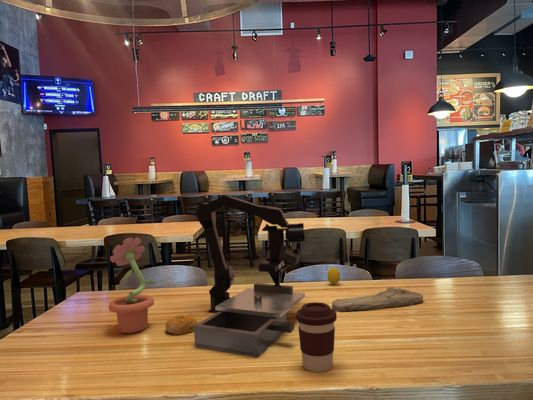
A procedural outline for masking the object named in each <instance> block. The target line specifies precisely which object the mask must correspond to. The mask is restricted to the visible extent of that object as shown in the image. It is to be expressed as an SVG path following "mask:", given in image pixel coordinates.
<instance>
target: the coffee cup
mask: <svg viewBox="0 0 533 400" xmlns="http://www.w3.org/2000/svg"><path fill="white" fill-rule="evenodd" d="M295 320H296V321H297V322H298V327H297V329H298V336H299V349H300V351H301V358H302V359H301V360H302V365H303V368H305V369H306V370H307V371H309V372H312V373H324V372H327V371H329V370H330V369H332V367H333V362H334V361H333V359H334V350H335V332H336V331H335V330H336V327H335V322H336V321H337V320H338V319H337V312H336V311H334V310H333V309H332V307H330V305H329V304H327V303H324V302H317V301H315V302H314V301H313V302H308V303H304V304H303V305H302V306H301V308H299V309H297V311H296V312H295Z"/></svg>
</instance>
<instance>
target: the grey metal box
mask: <svg viewBox="0 0 533 400" xmlns="http://www.w3.org/2000/svg"><path fill="white" fill-rule="evenodd" d="M197 323H198V324H196V325H195V326H194V331H193V338H194V340H193V341H194V347H195V348H200V349H205V350H212V351H218V352H223V353H228V354H229V353H230V354H236V355H240V356H241V355H242V356H248V357H253V358H259V357H260V356H261V355H263V353H264V352H266V350H268V349H269V348H270V347H271V346H272V345H273V344H274V343H275V342H276V341H277V340H278V339H279V338H280V337H281V336H282V335H283V334H284V333H288V334H291V333H292V332H293V331H294V330H295V323H294V322H287V312H286V313H285V314H284V315H283V316H282V317H281V318H276V317H267V316H259V315H251V314H243V313H234V312H226V311H218V312H217V313H216V312H214V313H213V314H212V315H210V316H208V317H207V318H205V319H203V320H201V321H200V322H197Z"/></svg>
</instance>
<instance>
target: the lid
mask: <svg viewBox="0 0 533 400" xmlns="http://www.w3.org/2000/svg"><path fill="white" fill-rule="evenodd" d="M305 297H306V293H304V292H295V291H294V287H293V285H283V284H280V285H275V284H270V283H261V282H260V283H259V282H256V283H254V284H253V288H252V287H251V288H250V287H248V288H246V289H244V290H242V291H241V292H238V293H237V294H235V295H233V296H232V297H230V298H229V299H228V300H226V301H224V302H222V303H221V304H219V305H217V306H215V310H218V311H226V312H234V313H243V314H251V315H259V316H267V317H276V318H281V317H282V316H283V315H284V314H285V313H286V314H287V312H289V311H290V310H292V309H293V308H294V307H295V306H296V305H297V304H299V302H301V301H302V300H303V299H304V298H305Z"/></svg>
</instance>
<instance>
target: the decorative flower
mask: <svg viewBox="0 0 533 400" xmlns="http://www.w3.org/2000/svg"><path fill="white" fill-rule="evenodd" d="M122 243H123V244H121V245H120V244H117V245H116V246H115V247H114V249H113V250H112V254H113V255H111V256H110V257H109V260H110V262H111V263H115V264H116V266H118V267H119V266H120V267H121V266H122V267H123V266H125V265H128V264H130V266H131V268H132V269H130V270H128V271H127V272H126V273H125V275H124V277H123V280H124V281H125V280H127V279H129V278H130V277H131V276H132V275H133V272H134V274H135V276H136V278H137V280H138V283H139V285H138V287H137V288H136V289H134V290H132V291H130V292H129V293H128V294H127V295H126V296H122V297H119V298H116V299H114V300H112V301H111V302H110V303H109V304H108V310H109V311H110V312H112V313H114V314H115V313H116V318H117V326H118V330H119V332H120V333H122V334H123V333H124V334H133V333H137V332H141V331H143V330H145V329H147V328H148V319H149V317H148V316H149V315H148V314H149V313H148V312H149V309H150V307H152V306H154V304H155V299H154V298H153V296H152V295H148V294H141V293H142V292H144V289H145V288H146V284H147V285H157V282H156V281H155V280H153V279H145V278H144V275H143V273H142V271H141V270H140V269H139V266H138V264H137V262H136V261H137V260H139V259H140V258H141V257H142V254H143V253H144V251H145V249H146V248H145V246H144V245H141V243H142V239H141V238H139V237H135V238H133V237H128V238H126V239H124V240H123V242H122Z"/></svg>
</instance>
